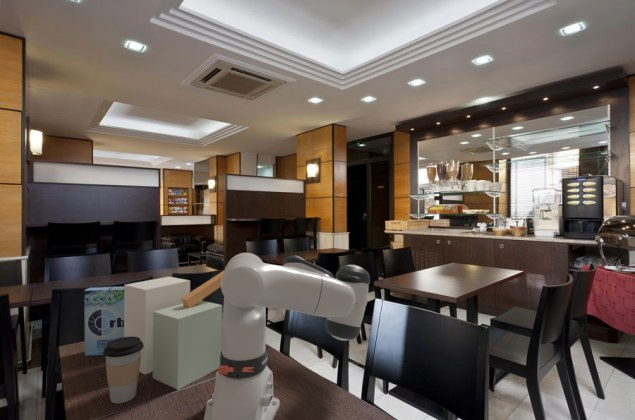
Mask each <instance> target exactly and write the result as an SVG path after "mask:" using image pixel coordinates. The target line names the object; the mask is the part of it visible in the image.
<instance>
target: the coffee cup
mask: <svg viewBox="0 0 635 420" xmlns="http://www.w3.org/2000/svg"><path fill="white" fill-rule="evenodd" d="M143 347H144V345H143V342H142V341H141V339H140V338H139V337H122V338H118V339H115V340H112V341H110V342H109V343H108V344H107V347H106V348H105V349H104V352H103V355H102V356H105V369H106V379H107V385H108V391H109V399H110V402H111V403H112V404H117V405H118V404H122V403H127V402H129V401H131V400H133V399H134V398H135V397H136V396H137V387H138V379H139V377H140V372H139V369H140V360H141V356H140V355H141V349H143Z"/></svg>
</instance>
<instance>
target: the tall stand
mask: <svg viewBox="0 0 635 420" xmlns="http://www.w3.org/2000/svg"><path fill="white" fill-rule="evenodd" d="M190 292H191V280H188V279H184V278H178V277H174V276H165V277H158V278H154V279H148V280H144V281H138V282H132V283H127V284H124V337H139V338H140V339H141V341H142V342H143V345H144V347H143V349H141V355H140V356H141V360H140V369H139V373H140V374H143V375H147V374H149V373H151V372H152V373H153V312H154V311H158V310H161V309H165V308H169V307H172V306H176V305H180V304H183V302H182V299H181V298H182V297H184V296H185V295H187V294H188V293H190Z"/></svg>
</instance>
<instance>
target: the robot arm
mask: <svg viewBox="0 0 635 420" xmlns="http://www.w3.org/2000/svg"><path fill="white" fill-rule="evenodd" d="M223 271H224V273H223V275H222V278H221V287H220V290H221V292H222V295H223V296H224V297H223V307H222V352H221V355H220V360H219V364H220V365H219V369H217V371H216V372H215V384H214V389H213V390H214V391H213V392H212V393H211V396H210V399H208V400H207V401H206V406H205V411H204V416H203V420H274V418H275V417H276V414H277V412H278V410H279V408H280V406H281V402H280V399H278V398H277V397H275V396H274V375H273V371H272V370H271V369H270V368H269V367H268V350H267V347H266V341H267V340H266V337H267V336H266V331H267V329H266V326H267V325H266V324H267V323H266V321H267V318H266V317H267V316H266V315H267V314H266V311H267V310H266V308H267V309H268V308H269V309H271V308H272V309H273V308H274V309H280V310H281V309H282V310H288V311H292V312H298V313H301V314H307V315H311V316H315V317H321V318H325V321H324V322H325V331H326V332H327V334H329V335H330V336H331V337H333V338H334V339H336V340H339V341H353V340H355V339H356V338H358V336H359V334H360V331H361V326H362V322H363V318H364V317H365V316H364V314H365V311H366V307H367V304H368V298H369V296H368V295H369V285H371V276H370V273H369V272H368V271H367V270H366V269H365V268H363V267H361V266H359V265H356V264H346V265H342V266H340V267H339V268H338V270H337V271H336V274H335V277H334V274H332V272H330V271H329V270H328V269H325V268H323V267H321V266H319V265H317V264H315V263H312V262H310V261H307V260H306V259H304V258H303V257H300V256H298V255H294V254H292V255H290V256H287V257H286V258H285V259H284V262H283V264H282V265H277V264H272V263H271V264H270V263H266V262H263V260H262V259H261V258H260V257H259V256H258V255H256V254H254V253H253V252H240V253H239V254H236V255H234V256H233V257H232V258H230V260H229V261H227V264H226V266H225V268H224V270H223Z"/></svg>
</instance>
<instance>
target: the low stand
mask: <svg viewBox="0 0 635 420" xmlns="http://www.w3.org/2000/svg"><path fill="white" fill-rule="evenodd" d="M222 321H223V305H222V304H219V303H214V302H209V301H205V300H203V299H202V300H201V301H199V302H198V303H196V304H195V305H193V306H192V307H191V308H188V307H184V305H183V304H180V305H176V306H172V307H169V308H165V309H161V310H158V311H154V312H153V371H152V379H153V380H156V381H158V382H160V383H161V384H164V385H167V386H169V387H171V388H172V389H175V390H176V391H178V390H180V389H182V388H184V387H186V386H189V384H192V383H194V382H195V381H198V380H199V379H202V378H204V377H205V376H207V375H209V374H211V373H213V372H215V371H216V370H217V371H218V370H219V365H220V364H219V360H220V355H221V352H222Z"/></svg>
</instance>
